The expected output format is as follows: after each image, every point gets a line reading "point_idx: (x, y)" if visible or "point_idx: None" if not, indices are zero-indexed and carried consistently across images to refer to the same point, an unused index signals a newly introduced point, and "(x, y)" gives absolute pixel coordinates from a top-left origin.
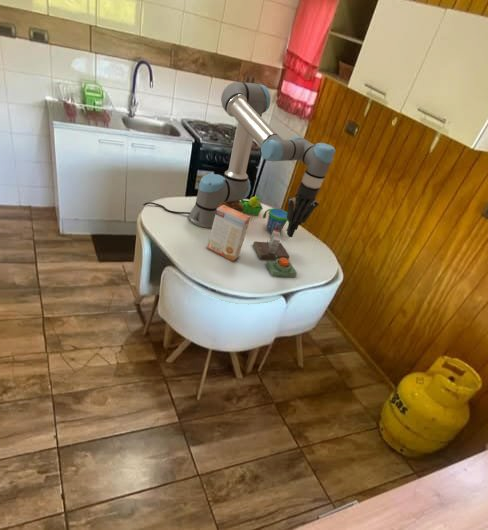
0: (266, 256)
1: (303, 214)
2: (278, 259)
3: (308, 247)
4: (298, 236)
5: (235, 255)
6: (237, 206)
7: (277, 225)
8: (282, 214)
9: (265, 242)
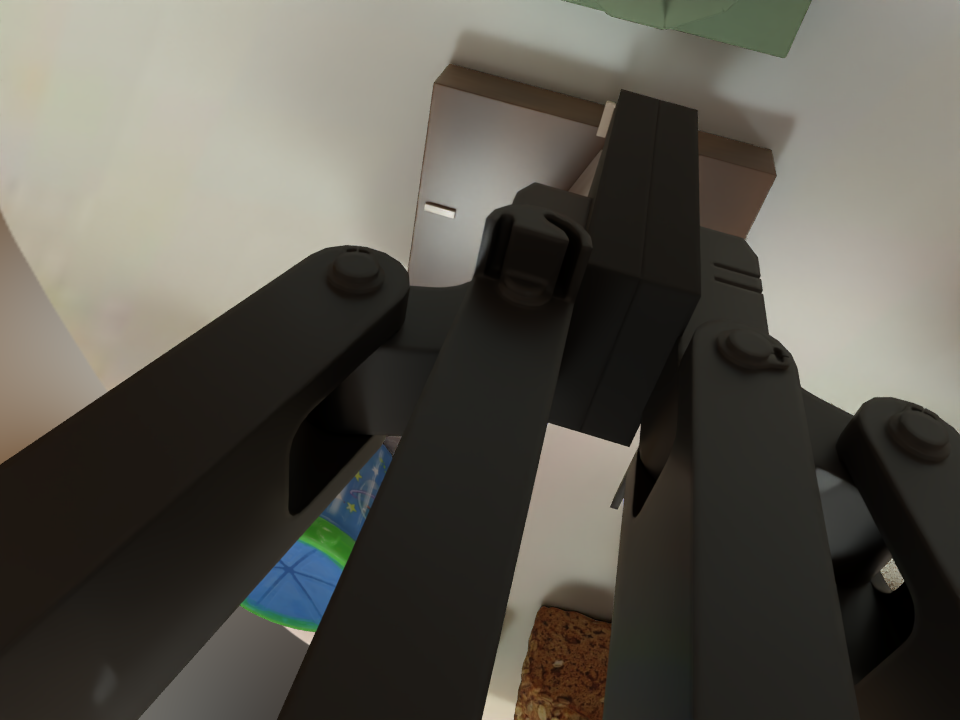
0: (711, 150)
1: (394, 564)
2: (678, 9)
3: (126, 210)
4: (165, 350)
5: None
6: (575, 704)
7: None
8: None
9: None
